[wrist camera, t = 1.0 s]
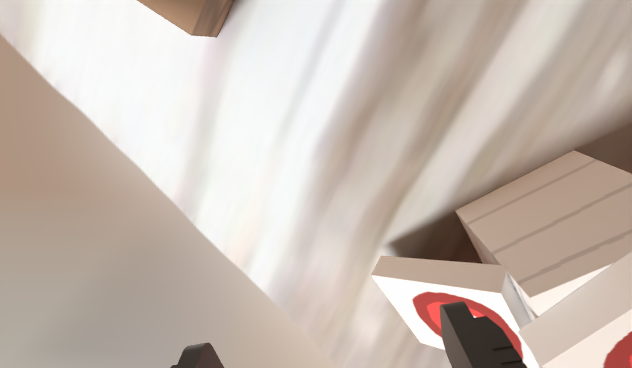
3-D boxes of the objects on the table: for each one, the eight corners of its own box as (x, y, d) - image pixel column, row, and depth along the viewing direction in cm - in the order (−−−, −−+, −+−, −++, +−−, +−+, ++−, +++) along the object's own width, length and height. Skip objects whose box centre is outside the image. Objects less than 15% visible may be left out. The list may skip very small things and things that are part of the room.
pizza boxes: (359, 246, 41) (389, 379, 25) (588, 127, 35) (837, 201, 18) (419, 329, 48) (474, 477, 32) (620, 243, 41) (822, 373, 25)
